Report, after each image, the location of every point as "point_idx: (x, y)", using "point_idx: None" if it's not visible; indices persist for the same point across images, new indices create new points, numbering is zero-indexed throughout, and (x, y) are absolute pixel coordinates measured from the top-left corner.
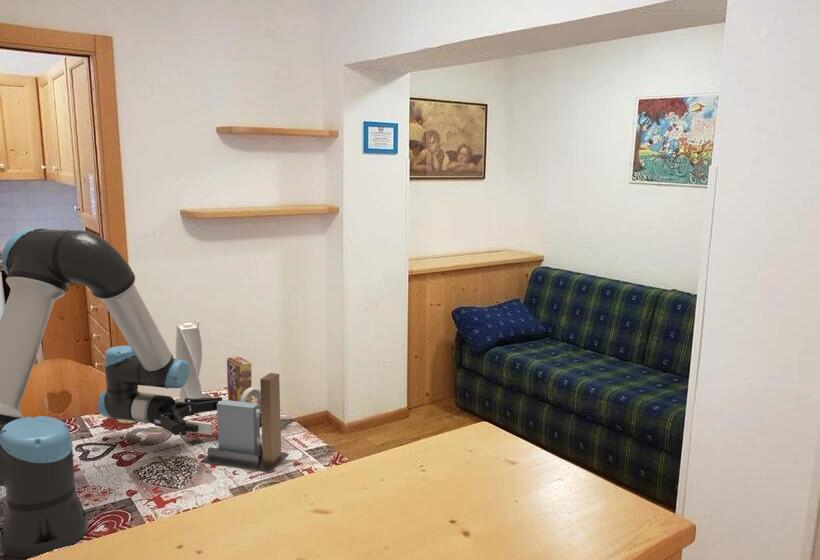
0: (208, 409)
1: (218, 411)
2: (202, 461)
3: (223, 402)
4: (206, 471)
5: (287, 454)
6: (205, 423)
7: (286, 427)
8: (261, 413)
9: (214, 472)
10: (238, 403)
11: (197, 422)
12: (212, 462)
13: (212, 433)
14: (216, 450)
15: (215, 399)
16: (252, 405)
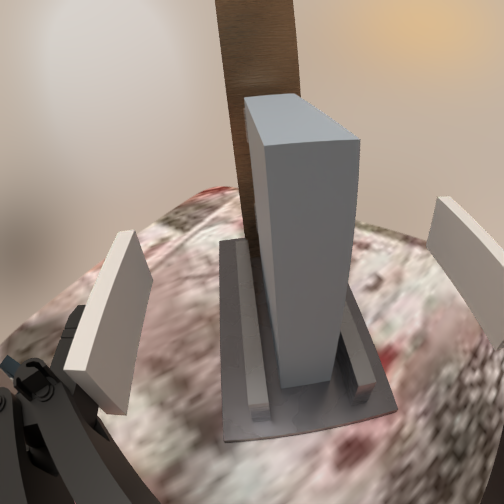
0: (139, 480)
1: (353, 191)
2: (395, 402)
3: (313, 130)
4: (425, 346)
5: (224, 241)
6: (464, 212)
7: (51, 320)
8: (300, 96)
9: (413, 324)
10: (279, 110)
11: (495, 242)
12: (381, 364)
13: (426, 244)
14: (362, 346)
15: (16, 433)
16: (271, 97)
